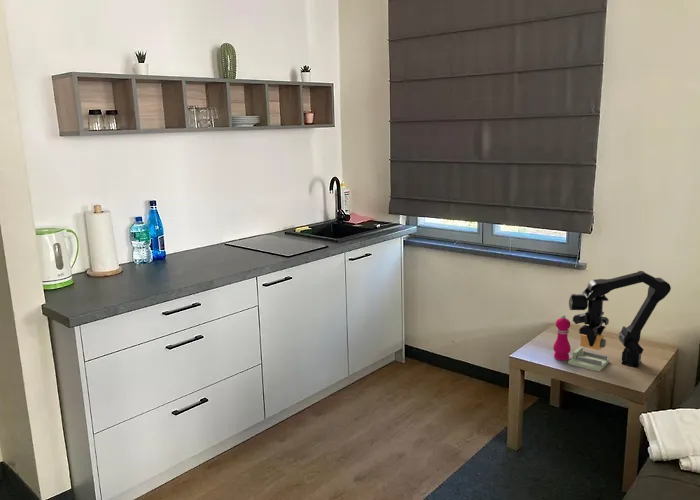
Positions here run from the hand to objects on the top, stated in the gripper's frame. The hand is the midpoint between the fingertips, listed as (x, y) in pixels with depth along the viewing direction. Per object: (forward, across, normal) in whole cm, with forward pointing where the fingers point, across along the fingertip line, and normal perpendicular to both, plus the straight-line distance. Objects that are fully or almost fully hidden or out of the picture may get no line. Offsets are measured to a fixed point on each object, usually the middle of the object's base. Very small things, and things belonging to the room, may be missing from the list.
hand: (593, 344), depth 250 cm
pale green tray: (+8, +1, -1) cm, 9 cm away
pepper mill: (+9, +2, -12) cm, 15 cm away
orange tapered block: (+1, 0, -1) cm, 1 cm away
